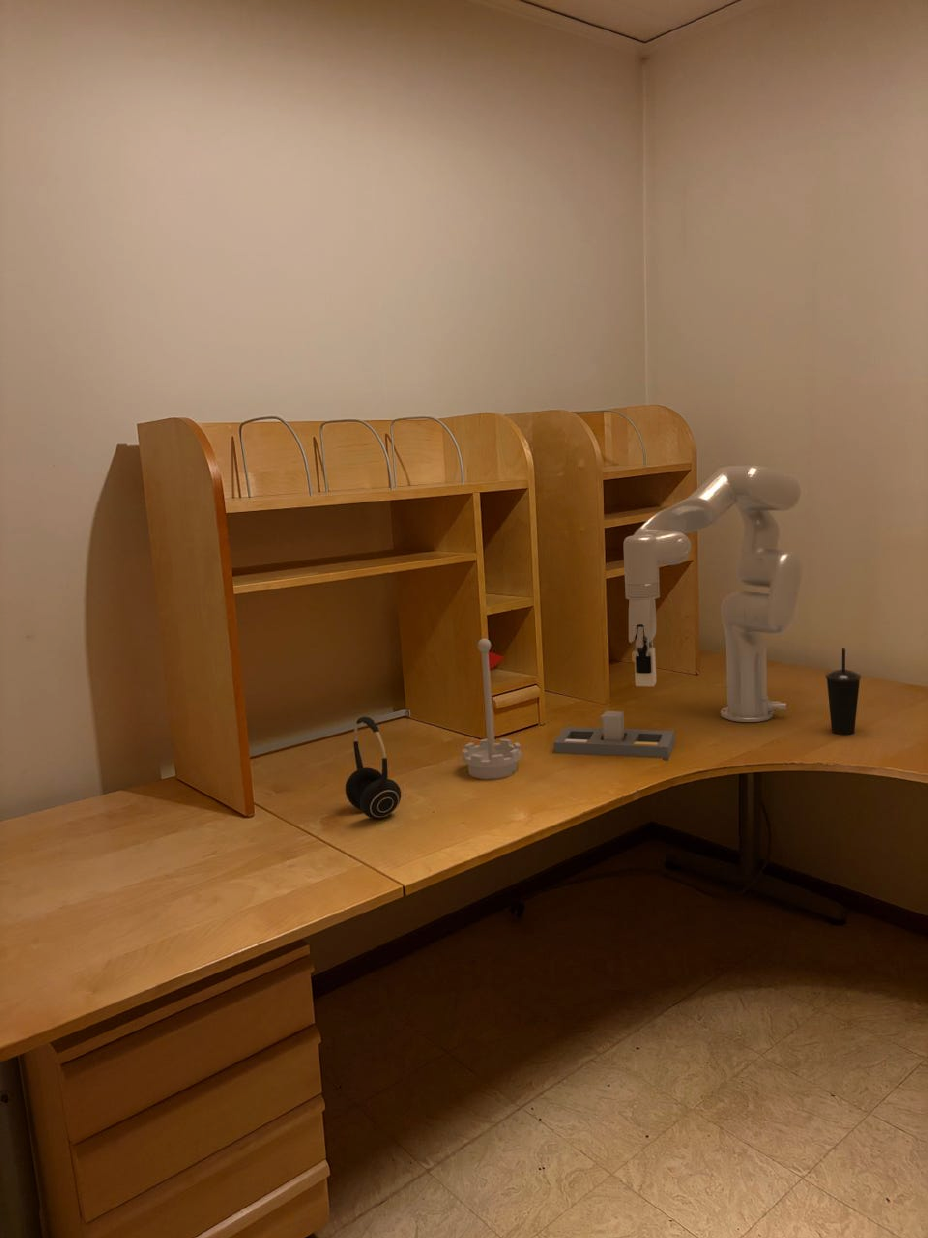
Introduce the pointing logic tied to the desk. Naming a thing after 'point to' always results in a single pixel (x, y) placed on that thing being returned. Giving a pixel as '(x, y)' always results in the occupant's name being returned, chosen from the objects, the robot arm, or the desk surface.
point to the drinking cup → (843, 698)
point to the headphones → (372, 782)
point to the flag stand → (490, 733)
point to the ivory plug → (646, 678)
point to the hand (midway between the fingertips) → (645, 669)
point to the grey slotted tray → (615, 739)
